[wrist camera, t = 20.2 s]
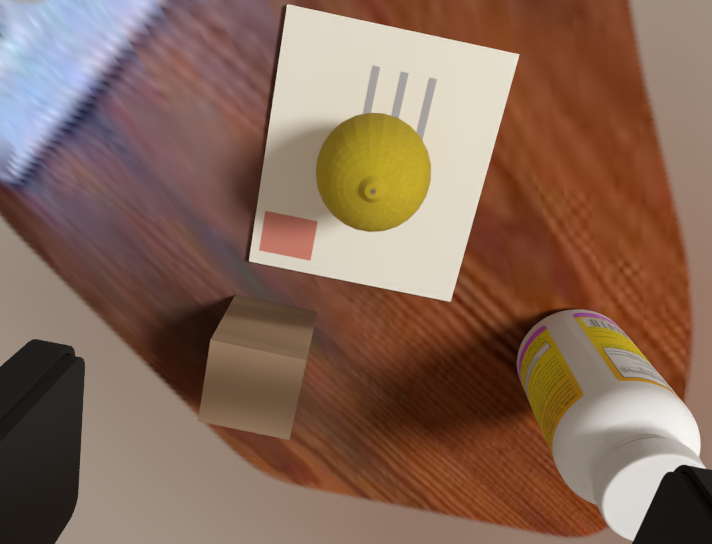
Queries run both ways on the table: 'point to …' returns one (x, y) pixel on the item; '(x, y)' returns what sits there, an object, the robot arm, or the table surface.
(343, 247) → the letter
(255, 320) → the walnut block
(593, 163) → the table surface
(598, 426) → the supplement bottle
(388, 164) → the lemon
